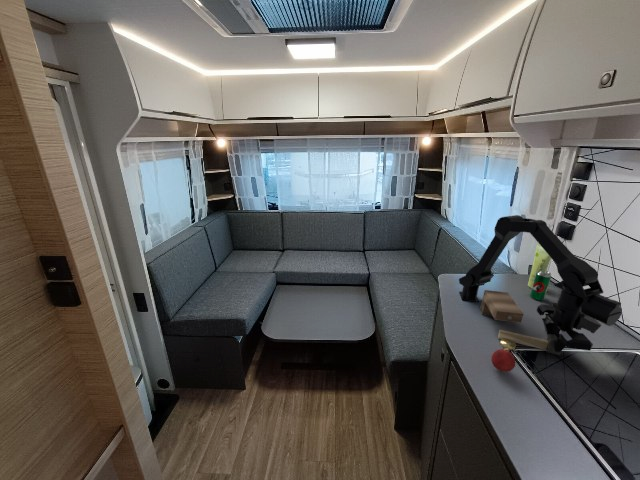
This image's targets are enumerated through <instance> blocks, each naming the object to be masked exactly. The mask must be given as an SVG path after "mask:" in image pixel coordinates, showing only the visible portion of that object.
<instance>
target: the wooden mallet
mask: <svg viewBox="0 0 640 480" xmlns="http://www.w3.org/2000/svg"><path fill="white" fill-rule="evenodd" d="M502 338H506V339H510V340H512V341H513V342H515V344H520V345H523V346H527V347H533V348H537V349H540V350H544V351H546V353H549V354H553V355H557V356H561V354H562V352H563V350H561V351H560V352H556V351H555V346H554V335H553V334H548V337H546V339H543V338H540V337H535V336H530V335H526V334H521V333H516V332H512V331H508V330H505V329H504V330H503V329H499V331H498V336H497V339H498V340H501V339H502Z"/></svg>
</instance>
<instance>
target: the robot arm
mask: <svg viewBox="0 0 640 480" xmlns="http://www.w3.org/2000/svg"><path fill="white" fill-rule="evenodd" d="M493 231H494V237H493V238H492V240H491V241H490V243H489V244H488V246H487V248H486V250H485V251H484V253H483V254H482V256H481V258H480V260H479V261H478V263H476V265H474V266H472V267H471V268H470V269H468V271H467V272H466V273H465V275H464V276H462V277H459V278H458V281H459V285H462V290H461V291H458V294H459V296H460V298H461V300H462V301H466V302H474V303H479V302H480V300H479V298H478V294H479V293H478V292H479V289H480V288H479V287H480V286H485V284H487V283H490V282H491V280H492V279H493V277H494V276H495V274H494V273H492V268H493V267H494V265H495V263H496V262H497V261H498V259H499V257H500V256H501V254H502V252H503V251H504V250H505V248H506V247H507V245H508V244H509V242H510V241H511V240H512V239H514V238H516V237H517V236H518V235H519V234H520V233H529V234H530V235H531V236H532V237H533V239H534V240H535V241H536V242H537V244H539V245H541V246H542V248H543V249H544V250H545V251H546V252H547V254H548V255H549V256H550V257H551V260H552V261H553V262H554V264H555V265H556V270H557V274H558V275H559V277H560V278H561V281H560V282H556V283H553V286H555V287H557V288H559V289H561V290H560V293H559V297H558V300H557V302H552V304H543V303H541V304H539V305H538V306H537V308H536V312H537V313H538V315H539V316H544V315H545V317H542V318H541V320H542V322H543V326H544V330H545V333H546V336H547V337H548V334H553V335H554V346H555V351H556V352H560V351H561V350H562V351H563V350H564V349H566V348H568V349H574V350H583V351H592V348H593V346H594V344H593V342H592V341H591V340H590V339H589V338H588V337H587V336H586V335H585V334H584V333H582V332H578V331H576V330H582V329H583V330H586V331H588V332H590V333H591V334H595V333H596V332H597V331H598V330H599V329H600V328H601V327H602V324H605V325H606V326H608V327H610V326H613V325H615V324H616V323H617V322H618V321H619V319H620V318H621V316H622V314H623V312H622V307H621V305H622V303H621V302H620V301H618V300H614V299H611V298H609V297H606V296H605V295H602V294H604V290H603V287H602V286H601V283H600V281H599V279H598V276H599V273H598V271H597V270H596V269H595V268H594V267H593V266H592V265H590V263H588V262H587V261H585V260H583V259H581V258H580V257H577V256H576V255H574V253H572V252H571V250H570V249H569V248H568V247H567V246H566V245H565V244H564V243H563V242H562V241H561V240H560V238H559V237H558V236H557V235H556V234H555V232H553V231H552V230H551V228H550V227H549V226H548V224H547V222H546V221H544V220H542V219H533V218H527V217H526V218H525V217H522V216H521V215H518V214H516V215H515V214H514V215H507V216H501V217H499V218H498V219H497V221H496V224H495V227H494V230H493ZM587 286H589V287H588V288H585V289H584V287H587ZM574 329H576V330H574ZM547 337H546V338H547Z"/></svg>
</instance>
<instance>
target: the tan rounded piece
mask: <svg viewBox="0 0 640 480" xmlns="http://www.w3.org/2000/svg"><path fill="white" fill-rule="evenodd" d="M499 340H500V341H499V346H500V345H501V346H502V347H503V348H502V347H501V346H500V347H501V348H502V349H504V348H507V349H509V351H510V350H513V349H515V350H516V348H517V343H515V342H513V341H512V340H510V339H506V338H502V339H499ZM513 351H514V350H513Z"/></svg>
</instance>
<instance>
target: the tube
mask: <svg viewBox="0 0 640 480" xmlns="http://www.w3.org/2000/svg"><path fill="white" fill-rule="evenodd" d="M551 260H552V258H551V257H550V256H549V255H548V254H547V252H546V251H545V250H544V249H543V248H542V246H541V245H540V244H539V243H537V244H536V248H535V254H534V259H533V263H532V267H531V269H530V275H529V280H528V283H527V287H529V288H531V289H532V285H533V282H534V279H535V275H536V273H537V272H538V270H545V271H548V267H549V265H550V261H551Z"/></svg>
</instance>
